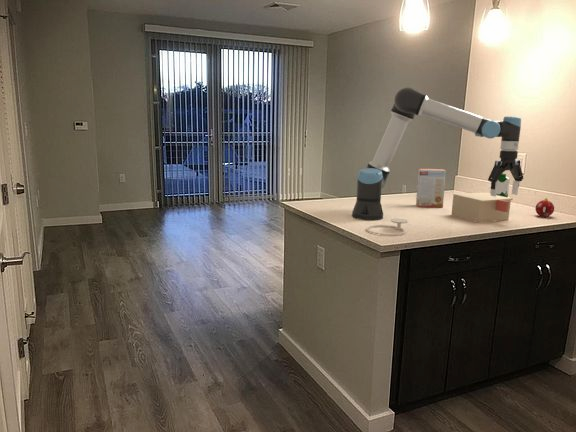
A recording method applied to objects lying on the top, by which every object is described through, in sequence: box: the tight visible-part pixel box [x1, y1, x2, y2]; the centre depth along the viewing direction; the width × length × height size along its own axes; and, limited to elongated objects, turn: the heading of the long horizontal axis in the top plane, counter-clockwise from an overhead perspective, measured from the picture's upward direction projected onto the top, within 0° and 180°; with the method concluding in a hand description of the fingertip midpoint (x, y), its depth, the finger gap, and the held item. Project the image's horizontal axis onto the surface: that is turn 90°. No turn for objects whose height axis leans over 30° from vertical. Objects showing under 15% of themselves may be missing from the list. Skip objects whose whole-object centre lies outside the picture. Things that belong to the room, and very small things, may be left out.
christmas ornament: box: [535, 197, 555, 218], centre depth 245 cm, size 9×9×10 cm
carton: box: [451, 196, 512, 224], centre depth 239 cm, size 20×18×10 cm
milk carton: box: [489, 173, 510, 198], centre depth 258 cm, size 9×9×20 cm
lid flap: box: [453, 191, 514, 212], centre depth 235 cm, size 20×25×5 cm
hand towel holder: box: [365, 217, 409, 237], centre depth 207 cm, size 17×4×21 cm
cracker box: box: [415, 168, 447, 209], centre depth 263 cm, size 14×6×21 cm, turn 84°
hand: (504, 195), depth 225 cm, fingers open, 13 cm apart
